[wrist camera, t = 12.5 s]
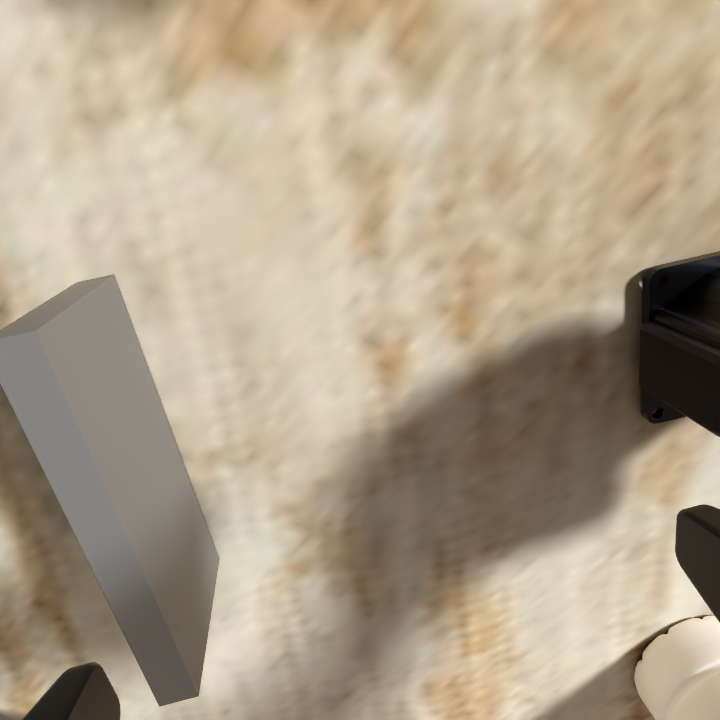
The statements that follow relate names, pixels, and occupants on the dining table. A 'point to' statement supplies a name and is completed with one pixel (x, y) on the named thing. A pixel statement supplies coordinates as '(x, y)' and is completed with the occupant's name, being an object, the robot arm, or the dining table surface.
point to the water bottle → (682, 672)
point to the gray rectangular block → (116, 474)
